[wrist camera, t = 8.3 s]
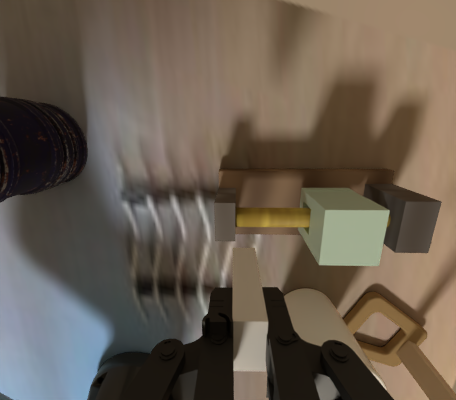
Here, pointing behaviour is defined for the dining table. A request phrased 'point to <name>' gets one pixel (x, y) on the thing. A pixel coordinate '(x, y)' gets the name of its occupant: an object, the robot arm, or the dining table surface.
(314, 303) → the candle holder
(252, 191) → the rail
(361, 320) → the headphone stand
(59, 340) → the dining table surface
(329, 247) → the sleeve
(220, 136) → the dining table surface
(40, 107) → the storage jar
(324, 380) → the robot arm
